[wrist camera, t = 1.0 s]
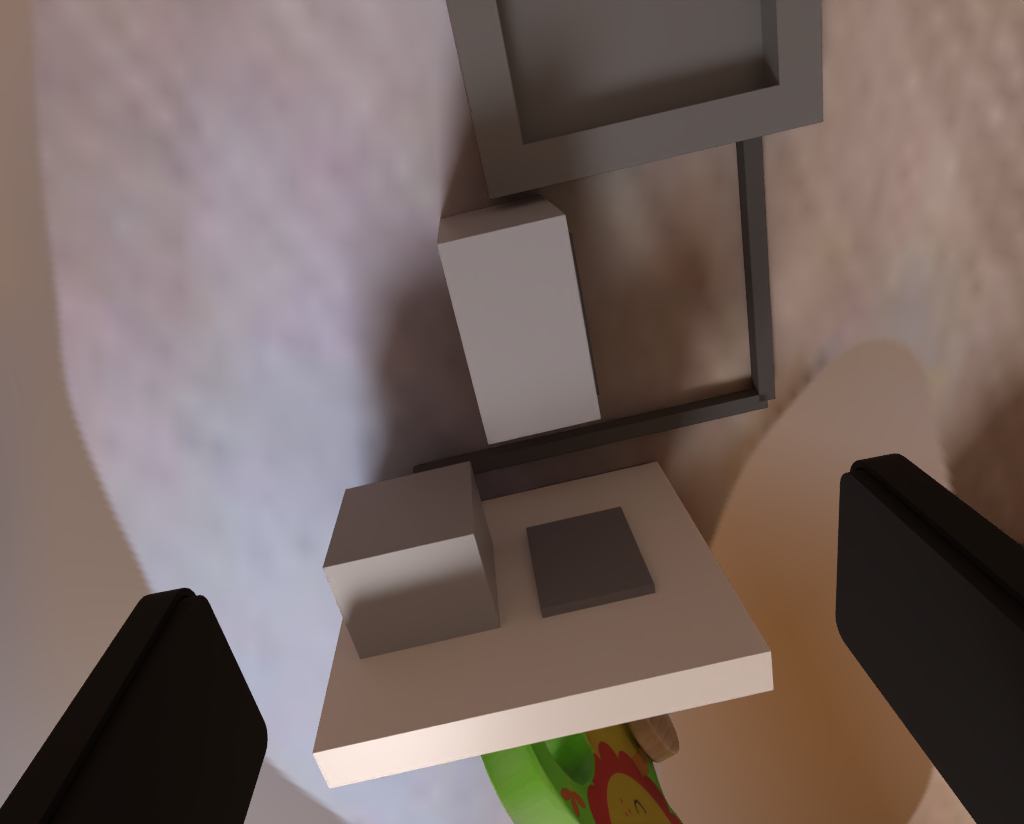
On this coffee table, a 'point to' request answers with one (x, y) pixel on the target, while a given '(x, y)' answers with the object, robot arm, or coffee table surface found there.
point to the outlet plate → (520, 618)
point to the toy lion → (588, 776)
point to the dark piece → (692, 412)
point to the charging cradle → (629, 80)
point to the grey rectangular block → (520, 317)
